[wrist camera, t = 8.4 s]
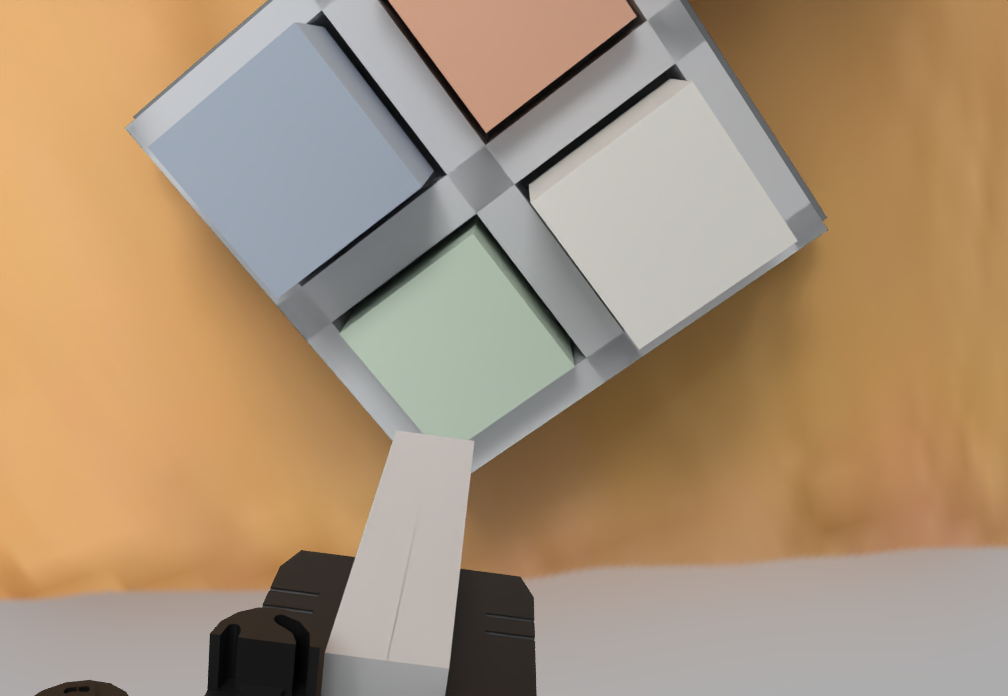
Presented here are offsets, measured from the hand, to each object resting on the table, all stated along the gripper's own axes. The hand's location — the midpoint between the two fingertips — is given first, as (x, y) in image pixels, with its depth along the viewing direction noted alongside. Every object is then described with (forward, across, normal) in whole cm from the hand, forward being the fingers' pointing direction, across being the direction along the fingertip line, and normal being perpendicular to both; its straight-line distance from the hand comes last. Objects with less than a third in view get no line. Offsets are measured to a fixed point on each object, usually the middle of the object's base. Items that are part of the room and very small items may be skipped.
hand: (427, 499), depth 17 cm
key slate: (+11, -5, +5) cm, 13 cm away
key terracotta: (+13, 0, +10) cm, 16 cm away
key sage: (+13, 0, 0) cm, 13 cm away
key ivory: (+11, +5, +5) cm, 13 cm away
